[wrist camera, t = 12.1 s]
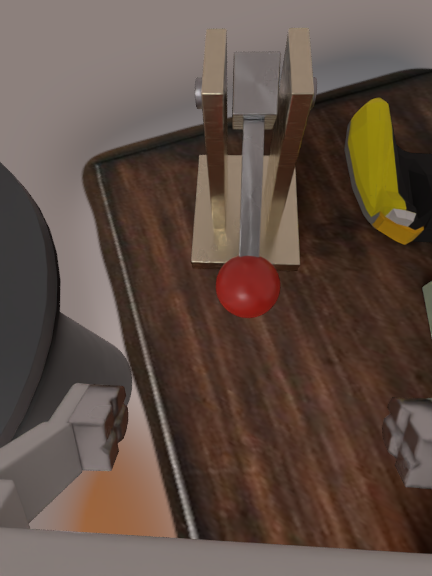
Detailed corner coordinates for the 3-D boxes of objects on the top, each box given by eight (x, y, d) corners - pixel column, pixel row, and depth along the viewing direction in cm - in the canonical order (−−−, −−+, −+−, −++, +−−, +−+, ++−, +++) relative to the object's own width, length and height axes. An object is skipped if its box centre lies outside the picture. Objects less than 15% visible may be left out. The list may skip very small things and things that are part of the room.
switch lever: (274, 310, 21) (282, 326, 17) (216, 308, 21) (213, 324, 18) (286, 79, 19) (298, 43, 15) (221, 79, 19) (218, 44, 15)
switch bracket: (297, 271, 26) (356, 143, 14) (192, 268, 26) (160, 142, 14) (292, 165, 29) (336, -10, 17) (200, 164, 30) (180, -7, 18)
